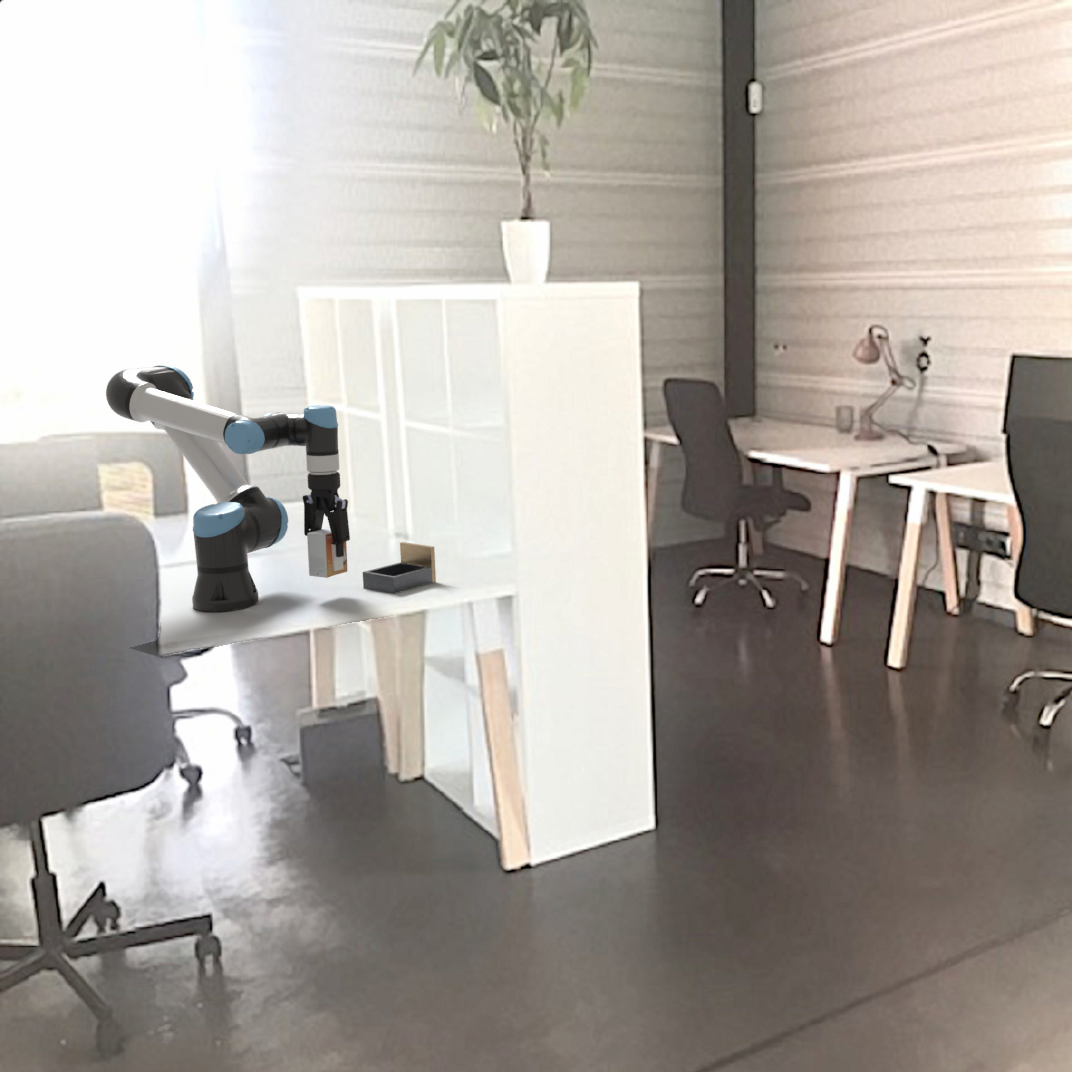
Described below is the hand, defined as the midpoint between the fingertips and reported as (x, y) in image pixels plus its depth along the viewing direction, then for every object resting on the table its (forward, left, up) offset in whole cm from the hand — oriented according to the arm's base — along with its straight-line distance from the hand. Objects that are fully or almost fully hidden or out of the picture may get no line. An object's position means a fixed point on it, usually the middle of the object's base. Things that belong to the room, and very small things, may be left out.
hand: (328, 567), depth 282 cm
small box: (0, 0, -2) cm, 2 cm away
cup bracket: (+5, +17, -7) cm, 19 cm away
